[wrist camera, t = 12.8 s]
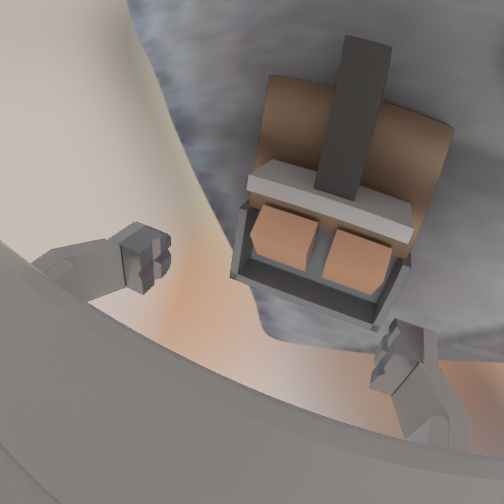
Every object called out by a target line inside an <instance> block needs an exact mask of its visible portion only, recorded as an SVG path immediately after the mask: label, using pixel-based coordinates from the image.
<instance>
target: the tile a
mask: <svg viewBox="0 0 504 504" xmlns="http://www.w3.org/2000/svg"><path fill="white" fill-rule="evenodd" d="M317 230H318V222H315V221H312V220H309V219H306V218H303V217H300V216H297V215H294V214H291V213H288V212H285V211H282V210H279V209H275V208H272V207H269V206H266V205H263V207H262V209H261V211H260V213H259V216H258V218H257V220H256V222H255V224H254V227H253V229H252V231H251V233H250V236H251V239H252V242H253V244H254V247H255V250H256V252H257V254H258V255H261V256H264V257H266V258H269V259H272V260H275V261H277V262H280V263H283V264H286V265H289V266H291V267H294V268H297V269H300V270H302V271H306V268H307V266H308V263H309V261H310V258H311V255H312V253H313V250H314V247H315V245H316V238H317Z"/></svg>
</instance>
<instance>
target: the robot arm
mask: <svg viewBox="0 0 504 504" xmlns="http://www.w3.org/2000/svg"><path fill="white" fill-rule="evenodd" d="M170 246H171V237H170V236H169V235H168V234H166V233H164V232H161V231H159V230H157V229H154V228H152V227H149V226H146V225H144V224H141V223H139V222H134V223H132V224H130V225H129V226H127V227H126V228H124V229H123V230H121V231H120V232H118V233H117V234H115V235H114V236H112V237H111V238H109V239H108V240H106V239H100V240H95V241H90V242H84V243H80V244H74V245H70V246H65V247H60V248H55V249H51V250H50V251H48V252H47V253H45V254H44V255H42V256H41V257H39V258H38V259H36V260H35V261H33V262H32V263H31V264H30V263H29V262H28V261H26V260H25V259H24V258H22V257H21V256H20V255H18V254H17V253H16V252H14V251H13V250H12V249H11V248H9V247H8V246H7V245H5V244H4V243H3V242H2V241H0V504H504V458H496V457H489V456H482V455H475V454H472V431H473V430H472V422H471V420H470V418H469V416H468V414H467V412H466V411H465V409H464V407H463V406H462V404H461V402H460V400H459V398H458V397H457V395H456V393H455V391H454V390H453V388H452V386H451V384H450V383H449V381H448V379H447V378H446V376H445V374H444V373H443V371H442V370H441V369H439V368H438V356H437V335H436V332H435V331H433V330H430V329H426V328H423V327H419V326H416V325H413V324H410V323H407V322H404V321H402V320H399V319H396V318H395V319H394V320H393V321H392V323H391V325H390V326H389V333H388V334H387V335H385V336H383V338H382V340H381V342H380V344H379V346H378V348H377V351H376V354H375V359H374V364H375V366H376V367H375V369H374V370H373V372H372V375H371V380H370V385H369V388H370V389H373V390H376V391H379V392H381V393H384V394H387V395H390V396H391V398H392V401H393V404H394V407H395V410H396V413H397V416H398V419H399V422H400V425H401V428H402V431H403V435H404V438H405V440H402V439H398V438H394V437H391V436H386V435H383V434H379V433H376V432H372V431H369V430H366V429H362V428H359V427H356V426H352V425H349V424H346V423H343V422H340V421H337V420H334V419H331V418H328V417H325V416H322V415H319V414H316V413H313V412H310V411H308V410H305V409H302V408H300V407H297V406H294V405H291V404H289V403H286V402H284V401H281V400H279V399H276V398H273V397H271V396H269V395H266V394H264V393H261V392H258V391H256V390H254V389H252V388H249V387H247V386H245V385H242V384H240V383H238V382H236V381H233V380H231V379H229V378H227V377H224V376H222V375H220V374H218V373H216V372H214V371H211V370H209V369H207V368H205V367H203V366H201V365H199V364H197V363H195V362H193V361H191V360H189V359H187V358H185V357H183V356H181V355H179V354H177V353H175V352H173V351H171V350H169V349H167V348H165V347H163V346H161V345H160V344H158V343H156V342H154V341H152V340H150V339H149V338H147V337H145V336H143V335H141V334H140V333H138V332H136V331H134V330H132V329H131V328H129V327H127V326H126V325H124V324H122V323H120V322H119V321H117V320H115V319H113V318H112V317H110V316H109V315H107V314H105V313H104V312H102V311H100V310H99V309H97V308H96V307H94V306H92V305H91V304H89V303H88V301H91V300H93V299H96V298H99V297H101V296H104V295H107V294H109V293H112V292H114V291H117V290H120V289H123V288H125V286H126V287H128V288H130V289H132V290H134V291H136V292H138V293H140V294H143V295H144V294H145V293H146V292H147V291H148V290H149V289H150V288H151V287H152V286H153V285H154V280H156V279H160V278H162V277H163V276H164V275H165V274H166V273H167V271H168V269H169V267H170V264H171V254H170V252H169V250H168V248H169V247H170Z"/></svg>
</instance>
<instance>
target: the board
mask: <svg viewBox="0 0 504 504" xmlns="http://www.w3.org/2000/svg"><path fill="white" fill-rule="evenodd" d="M334 93H335V87H331V86H327V85H323V84H318V83H314V82H309V81H305V80H300V79H295V78H290V77H284V76H276V75H269V80H268V86H267V92H266V99H265V105H264V111H263V117H262V123H261V129H260V136H259V142H258V148H257V155H256V161H255V167H254V171H255V170H257V169H258V168H260V167H261V166H263V165H264V164H266V163H267V162H269V161H271V160H272V159H274V160H278V161H281V162H285V163H288V164H292V165H296V166H299V167H302V168H306V169H309V170H313V171H316V172H317V170H318V166H319V162H320V157H321V153H322V148H323V144H324V140H325V135H326V130H327V126H328V121H329V117H330V112H331V107H332V102H333V98H334ZM453 132H454V128H452V127H450V126H449V125H447V124H444V123H442V122H439V121H437V120H434V119H432V118H429V117H427V116H424V115H422V114H419V113H416V112H413V111H411V110H408V109H405V108H402V107H399V106H396V105H393V104H390V103H387V102H384V101H381V104H380V108H379V113H378V117H377V121H376V125H375V129H374V133H373V137H372V141H371V144H370V148H369V152H368V156H367V159H366V163H365V167H364V170H363V174H362V177H361V181H360V184H359V185H360V186H363V187H366V188H369V189H372V190H374V191H377V192H380V193H383V194H386V195H389V196H391V197H394V198H397V199H400V200H402V201H405V202H408V203H410V204H411V209H412V216H413V223H414V231H413V234H412V236H411V238H410V241H409V243H408V244H406V243H403V242H401V241H398V240H395V239H393V238H390V237H387V236H384V235H382V234H379V233H376V232H373V231H371V230H368V229H365V228H362V227H359V226H356V225H354V224H351V223H348V222H345V221H342V220H339V219H336V218H333V217H330V216H327V215H324V214H321V213H318V212H315V211H312V210H309V209H306V208H303V207H300V206H297V205H294V204H290V203H287V202H284V201H281V200H278V199H274V198H271V197H268V196H265V195H261V194H258V193H255V192H251V193H250V199H249V206H251V207H254V208H257V209H260V210H261V209H262V207H263V205H266V206H269V207H272V208H275V209H279V210H282V211H285V212H288V213H291V214H294V215H297V216H300V217H303V218H306V219H309V220H312V221H315V222H318V229H320V230H323V231H326V232H329V233H332V234H336V232H337V229H338V230H341V231H344V232H347V233H350V234H353V235H356V236H358V237H361V238H364V239H367V240H370V241H372V242H375V243H378V244H381V245H383V246H386V247H389V248H391V249H392V253H391V255H393V256H396V257H399V258H402V259H404V260H406V259H407V257H408V255H409V252H410V250H411V248H412V246H413V243H414V241H415V239H416V236H417V234H418V232H419V229H420V227H421V224H422V222H423V219H424V217H425V214H426V212H427V209H428V207H429V204H430V201H431V199H432V196H433V193H434V191H435V188H436V185H437V182H438V179H439V177H440V174H441V171H442V168H443V165H444V162H445V159H446V155H447V152H448V149H449V146H450V143H451V139H452V136H453Z"/></svg>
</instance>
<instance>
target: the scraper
mask: <svg viewBox="0 0 504 504" xmlns="http://www.w3.org/2000/svg"><path fill="white" fill-rule="evenodd" d="M391 52H392V47H390V46H386V45H383V44H379V43H376V42H372V41H368V40H364V39H360V38H356V37H352V36H347V35H346V36H345V41H344V47H343V52H342V57H341V63H340V68H339V73H338V78H337V83H336V88H335V93H334V98H333V102H332V107H331V112H330V117H329V121H328V126H327V130H326V135H325V140H324V144H323V148H322V153H321V157H320V162H319V166H318V170H317V172H316V171H313V170H309V169H306V168H302V167H299V166H296V165H292V164H288V163H285V162H281V161H278V160H274V159H272V160H271V161H269V162H267V163H266V164H264V165H263V166H261V167H260V168H258V169H257V170H255V171H254V172H252V173H251V174H249V177H248V184H247V190H248V191H251V192H255V193H258V194H261V195H265V196H268V197H271V198H274V199H278V200H281V201H284V202H287V203H290V204H294V205H297V206H300V207H303V208H306V209H309V210H312V211H315V212H318V213H321V214H324V215H327V216H330V217H333V218H336V219H339V220H342V221H345V222H348V223H351V224H354V225H356V226H359V227H362V228H365V229H368V230H371V231H373V232H376V233H379V234H382V235H384V236H387V237H390V238H393V239H395V240H398V241H401V242H403V243H406V244H408V243H409V241H410V238H411V236H412V234H413V231H414V223H413V216H412V209H411V204H410V203H408V202H405V201H402V200H400V199H397V198H394V197H391V196H389V195H386V194H383V193H380V192H377V191H374V190H372V189H369V188H366V187H363V186H360V185H359V184H360V181H361V177H362V174H363V170H364V167H365V163H366V159H367V156H368V152H369V148H370V144H371V141H372V137H373V133H374V129H375V125H376V121H377V117H378V113H379V108H380V104H381V100H382V96H383V91H384V87H385V82H386V77H387V73H388V68H389V63H390V58H391Z"/></svg>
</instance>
